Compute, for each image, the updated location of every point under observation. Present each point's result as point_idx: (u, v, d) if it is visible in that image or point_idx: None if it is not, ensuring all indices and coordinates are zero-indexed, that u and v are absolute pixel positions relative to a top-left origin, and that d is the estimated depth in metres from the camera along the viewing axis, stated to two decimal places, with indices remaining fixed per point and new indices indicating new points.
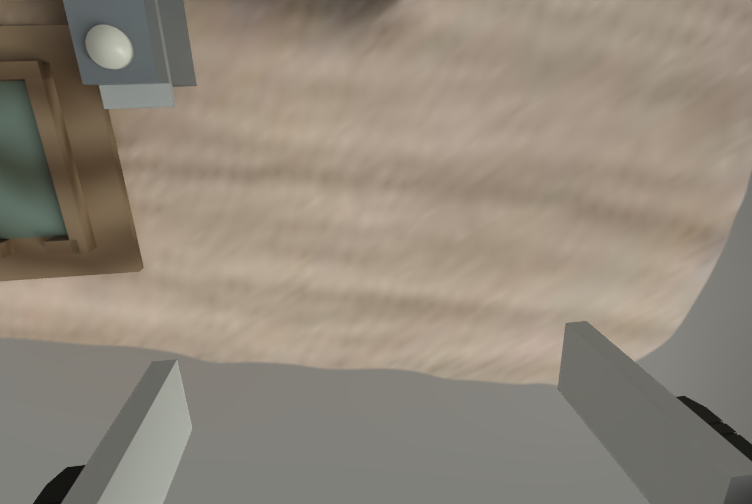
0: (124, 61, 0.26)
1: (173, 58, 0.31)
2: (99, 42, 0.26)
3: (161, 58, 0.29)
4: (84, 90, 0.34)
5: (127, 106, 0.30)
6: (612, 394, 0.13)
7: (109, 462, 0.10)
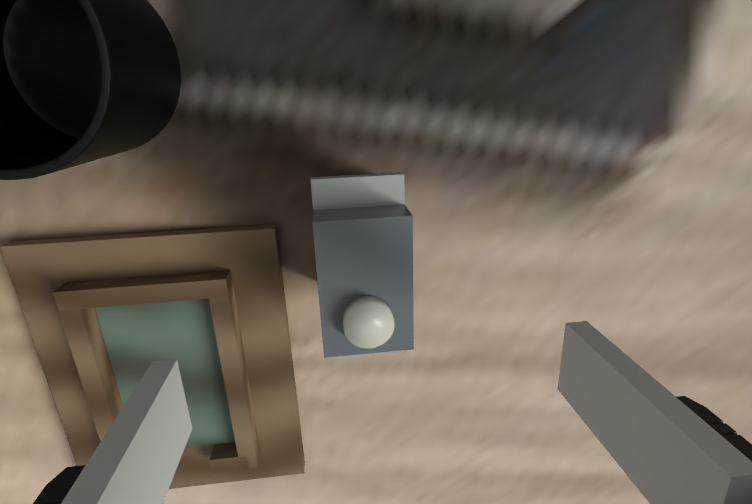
0: (386, 339, 0.21)
1: None
2: (360, 322, 0.20)
3: None
4: (267, 296, 0.29)
5: (353, 355, 0.24)
6: (612, 394, 0.13)
7: (109, 462, 0.10)
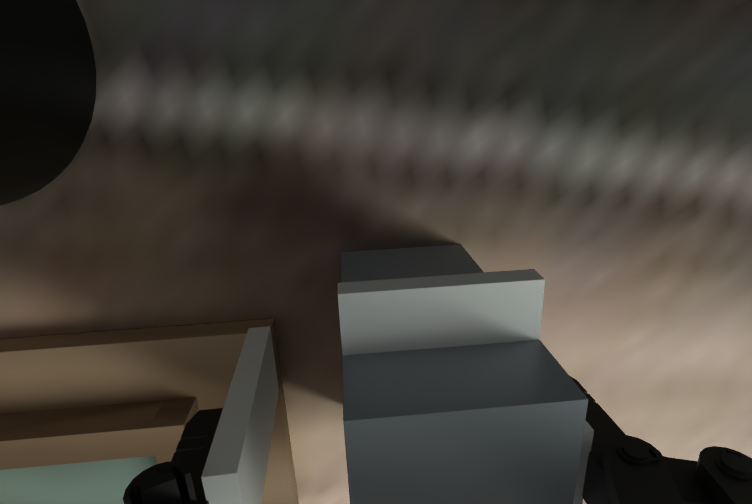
0: None
1: None
2: None
3: None
4: None
5: None
6: None
7: (244, 402, 0.12)
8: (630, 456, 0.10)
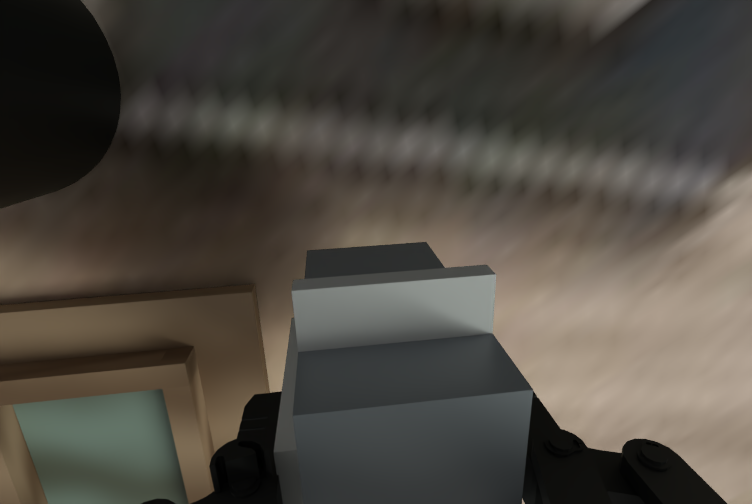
0: None
1: None
2: None
3: None
4: (243, 378, 0.22)
5: None
6: None
7: None
8: (556, 449, 0.10)
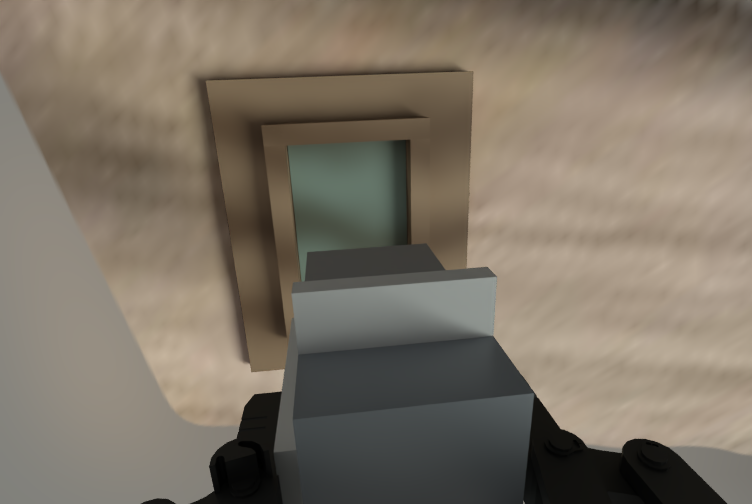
0: None
1: None
2: None
3: None
4: (455, 148, 0.28)
5: None
6: None
7: None
8: (556, 449, 0.10)
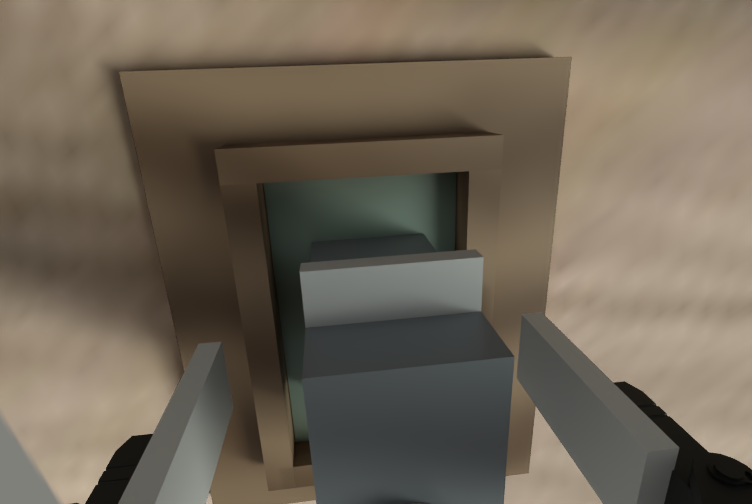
0: None
1: None
2: None
3: None
4: (534, 182, 0.18)
5: None
6: (558, 380, 0.13)
7: (175, 429, 0.11)
8: (722, 475, 0.09)
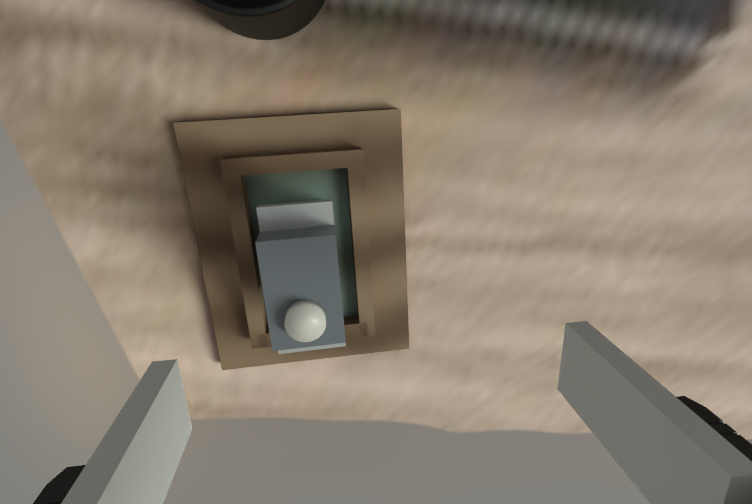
0: (320, 334, 0.26)
1: None
2: (298, 320, 0.26)
3: None
4: (389, 173, 0.33)
5: (301, 350, 0.29)
6: (612, 394, 0.13)
7: (109, 462, 0.10)
8: None
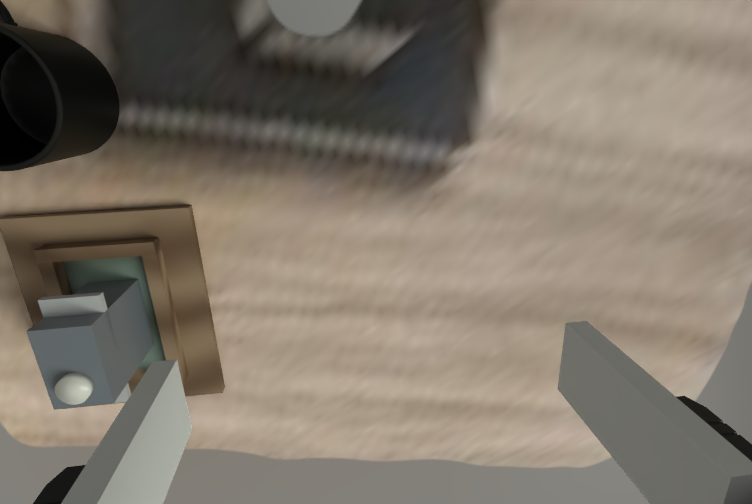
0: (85, 399, 0.34)
1: (129, 357, 0.38)
2: (65, 389, 0.33)
3: (117, 376, 0.36)
4: (186, 256, 0.41)
5: None
6: (612, 394, 0.13)
7: (109, 462, 0.10)
8: None
